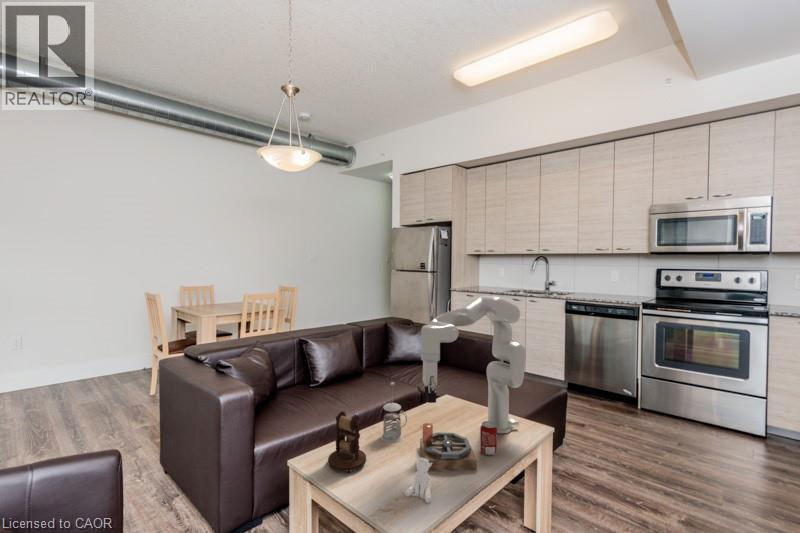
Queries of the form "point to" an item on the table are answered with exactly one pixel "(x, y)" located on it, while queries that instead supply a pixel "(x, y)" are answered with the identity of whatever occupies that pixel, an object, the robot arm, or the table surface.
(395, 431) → the french press
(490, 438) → the soda can
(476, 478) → the table surface
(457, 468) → the block
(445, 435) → the handwheel
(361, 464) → the scroll
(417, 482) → the sitting furry creature
